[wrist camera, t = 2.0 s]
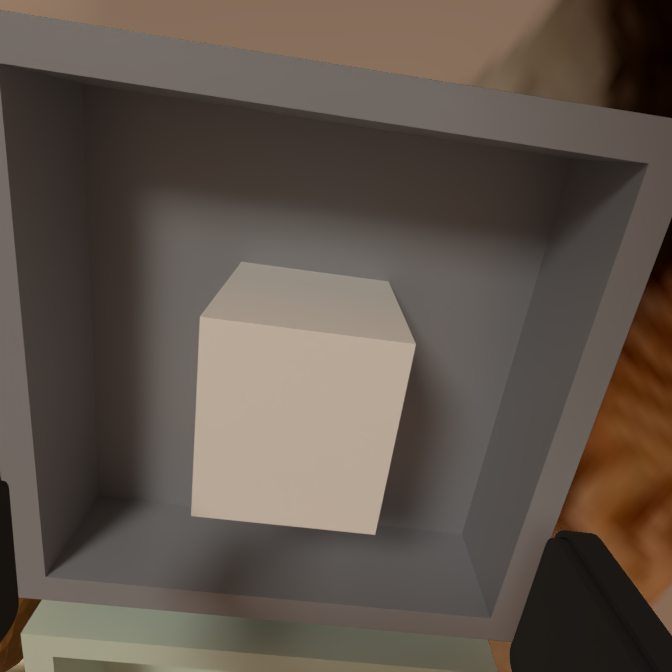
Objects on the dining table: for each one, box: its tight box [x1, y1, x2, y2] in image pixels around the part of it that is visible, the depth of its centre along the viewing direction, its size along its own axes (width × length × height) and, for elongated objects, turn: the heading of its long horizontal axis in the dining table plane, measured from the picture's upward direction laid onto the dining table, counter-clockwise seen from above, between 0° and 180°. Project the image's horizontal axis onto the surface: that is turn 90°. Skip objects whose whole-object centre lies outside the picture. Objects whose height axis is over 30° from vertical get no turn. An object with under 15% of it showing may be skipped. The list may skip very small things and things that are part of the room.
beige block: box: [191, 262, 416, 535], centre depth 13 cm, size 5×4×5 cm
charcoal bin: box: [0, 10, 672, 642], centre depth 14 cm, size 15×15×4 cm
